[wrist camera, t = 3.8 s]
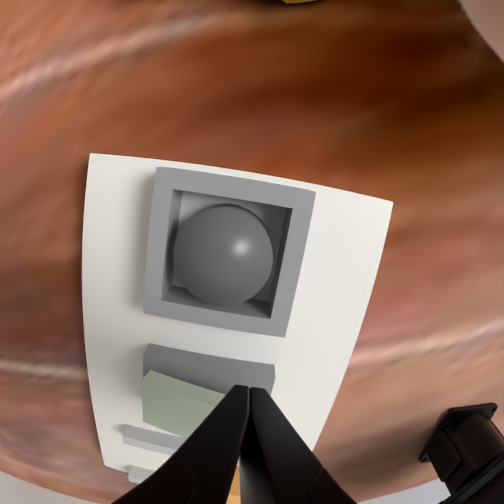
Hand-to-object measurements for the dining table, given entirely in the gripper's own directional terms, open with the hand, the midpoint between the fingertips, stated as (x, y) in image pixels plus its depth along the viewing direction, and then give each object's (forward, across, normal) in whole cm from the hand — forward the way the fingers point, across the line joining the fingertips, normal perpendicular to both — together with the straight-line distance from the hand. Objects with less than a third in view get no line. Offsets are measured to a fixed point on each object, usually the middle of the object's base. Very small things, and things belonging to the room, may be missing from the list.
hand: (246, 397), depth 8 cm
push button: (+7, +2, -2) cm, 8 cm away
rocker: (+5, +2, +6) cm, 8 cm away
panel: (+10, +2, +6) cm, 11 cm away
